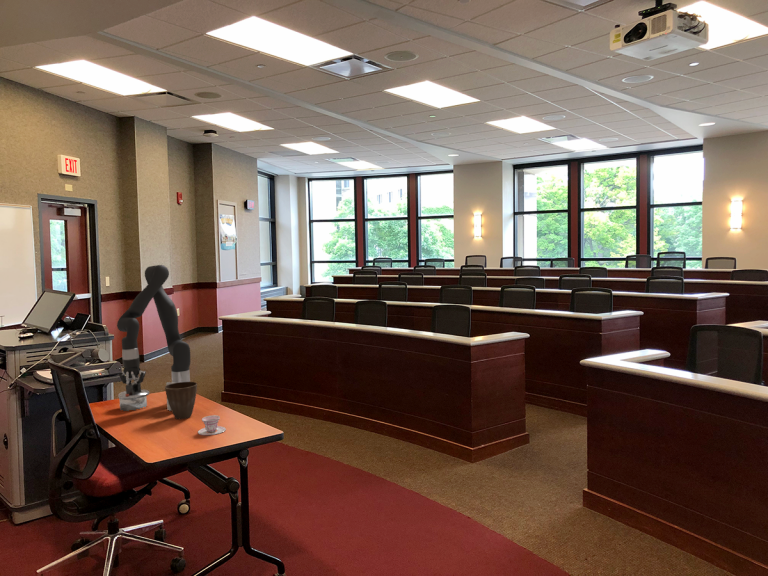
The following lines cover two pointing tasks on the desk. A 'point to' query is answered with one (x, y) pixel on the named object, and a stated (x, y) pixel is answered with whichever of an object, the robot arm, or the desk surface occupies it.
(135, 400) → the cooker pot
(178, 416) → the plant pot
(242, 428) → the desk surface
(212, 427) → the teacup
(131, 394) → the cooker lid
